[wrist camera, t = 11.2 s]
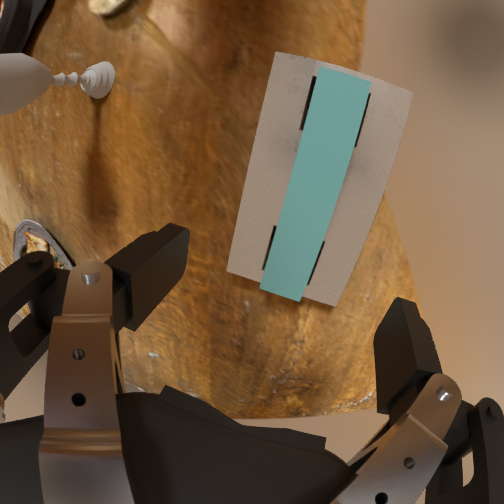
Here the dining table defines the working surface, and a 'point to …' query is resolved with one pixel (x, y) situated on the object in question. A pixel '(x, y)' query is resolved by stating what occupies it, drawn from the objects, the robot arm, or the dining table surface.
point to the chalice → (45, 80)
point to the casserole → (17, 23)
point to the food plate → (36, 242)
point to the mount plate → (281, 165)
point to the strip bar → (315, 180)
